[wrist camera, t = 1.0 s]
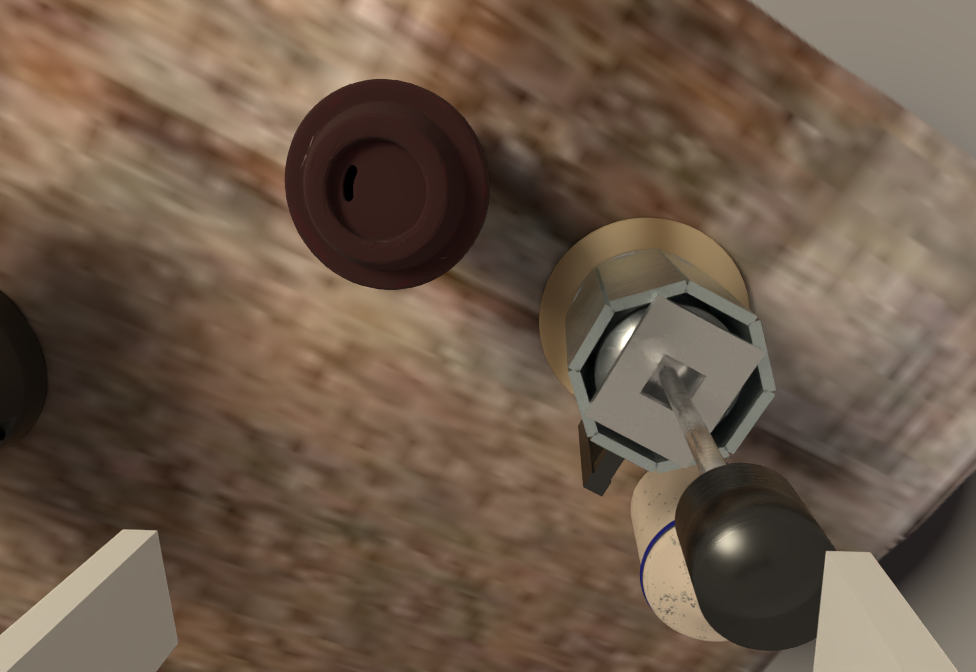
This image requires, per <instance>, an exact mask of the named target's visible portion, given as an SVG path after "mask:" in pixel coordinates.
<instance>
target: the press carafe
mask: <svg viewBox="0 0 976 672" xmlns="http://www.w3.org/2000/svg"><path fill="white" fill-rule="evenodd" d="M675 302H682V303H688V304H691V305H694V306H697V307H699V308H701V309H704V310H706V311H707V312H709V313H710V314H712V315H714V316H715V317H716V318H717V319H718V320H719V321H721V323H722V324H723V325H724V326H725V327H726V328H727V329H728V330H729V331H730V332H729V331H727V330H725V329H723V328H722V327H720V326H718V325H716V324H714V323H712V322H710V321H708V320H707V319H705V318H703V317H701V316H699V315H697V314H695V313H693V312H692V311H690V310H688V309H686V308H684V307H682V306H680V305H679V304H677V303H675ZM648 304H650V305H649V306H648V308H647V310H646V311H645V313H644V315H643V316H642V318H641V319H640V321H639V323H638V324H637V326H636V328H635V329H634V331H633V333H632V334H631V336H630V337H629V339H628V341H627V342H626V344H625V346H624V347H623V349H622V351H621V352H620V354H619V355H618V357H617V359H616V360H615V362H614V364H613V365H612V367H611V368H610V370H609V372H608V373H607V375H606V377H605V378H604V380H603V382H602V383H601V385H600V386H599V388H598V390H596V385H595V377H594V366H595V359H596V354H597V352H598V349H599V346H600V344H601V342H602V340H603V338H604V337H605V335H606V334H607V332H608V331H609V330H610V328H611V327H612V326H613V325H614V324H615V323H616V322H617V321H618V320H620V319H621V318H622V317H623V316H625V315H626V314H628V313H629V312H631V311H633V310H635V309H637V308H639V307H642V306H645V305H648ZM565 317H566V319H565V327H566V345H567V364H568V374H569V377H570V380H571V384H572V387H573V390H574V394H575V397H576V400H577V404H578V407H579V410H580V413H581V417H582V420H581V422H580V424H579V425H578V429H579V441H580V454H581V466H582V479H583V487H584V488H586V489H588V490H590V491H592V492H594V493H596V494H598V495H600V496H603V494H604V493H605V491H606V490H607V488H608V487H609V485H610V484H611V479H612V477H613V476H614V474H615V473H616V471H617V469H618V468H619V466H620V465H621V463H622V462H623V460H624V459H627V460H629V461H631V462H632V463H634V464H636V465H638V466H640V467H642V468H644V469H646V470H648V471H650V472H652V473H654V471H655V470H657V474H659V473H663V472H667V471H671V470H675V469H680V468H687V467H688V466H692V465H697V464H696V462H695V460H694V457H693V455H692V453H691V450H690V448H689V446H688V444H687V441H686V439H685V437H684V435H683V432H682V430H681V428H680V425H679V423H678V421H677V419H676V416H675V414H674V412H673V409H672V407H671V406H669V405H667V404H665V403H663V402H661V401H659V400H657V399H655V398H654V397H652V396H650V395H648V394H646V393H644V392H642V391H641V390H642V389H643V387H644V386H645V384H646V383H647V381H648V379H649V378H650V376H651V375H652V373H653V372H654V370H655V368H656V367H657V365H658V364H659V362H660V361H661V359H662V357H663V356H664V354H666V355H668V356H670V357H671V358H673V359H675V360H677V361H679V362H681V363H683V364H685V365H686V366H688V367H690V368H692V369H694V370H696V371H698V372H700V373H702V374H703V375H702V376H701V378H700V379H699V381H698V383H697V384H696V386H695V387H694V389H693V390H692V392H691V393H690V396H691V398H692V400H693V402H694V404H695V406H696V408H697V410H698V412H699V413H700V415H701V417H702V419H703V421H704V423H705V425H706V427H707V428H708V430H709V432H710V434H711V436H712V438H713V440H714V442H715V444H716V445H717V447H718V449H719V451H720V453H721V455H722V457H723V458H726V457H729V453H728V452H730V453H732V454H734V453H735V451H736V450H737V448H738V447H739V446H740V444H741V443H742V441H743V440H744V439H745V437H746V436H747V434H748V433H749V431H750V430H751V429H752V427H753V426H754V424H755V423H756V422H757V420H758V419H759V417H760V416H761V414H762V413H763V412H764V410H765V409H766V407H767V406H768V404H769V403H770V402H771V400H772V399H773V397H774V396H775V394H774V393H773V391H775V390H776V387H775V383H774V378H773V374H772V369H771V365H770V360H769V356H768V352H767V347H766V343H765V338H764V334H763V329H762V325H761V320H759V319H758V318H757V317H758V316H756V315H755V314H754V313H753V312H752V311H751V310H749V309H748V308H747V307H746V306H745V305H744V304H742V303H741V302H740V301H739V300H738V299H737V298H735V297H734V296H733V295H732V294H731V293H730V292H729V291H727V290H726V289H725V288H724V287H723V286H722V285H720V284H719V283H718V282H717V281H716V280H715V279H713V278H712V277H711V276H710V275H708V274H707V273H705V272H703V271H701V270H699V269H697V268H696V267H695V266H694V265H692V264H691V263H690V262H688V261H687V260H685V259H683V258H682V257H679V256H677V255H675V254H672V253H669V252H666V251H664V250H662V249H660V248H657V249H656V248H655V247H653V248H650V249H638V250H631V251H627V252H623V253H620V254H617V255H615V256H613V257H611V258H609V259H607V260H605V261H603V262H602V263H598V264H597V266H596V267H593V269H592V270H591V272H590V273H589V274H588V275H587V276H586V277H585V278H584V280H583V281H582V282H581V284H580V285H579V287H578V289H577V291H576V293H575V295H574V297H573V300H572V303H571V306H570V309H569V310H568V312H567V314H566V316H565ZM740 389H741V391H740ZM739 391H740V394H739V396H738V399H737V401H736V403H735V405H734V406H733V408H732V409H731V411H730V412H729V413H728V415H727V416H726V417H725V418H724V419H723V420H722V421H721V422H720V423H719V424H718V425H716V424H717V423H718V421H719V420H720V419H721V417H722V416H723V414H724V413H725V411H726V410H727V408H728V407H729V405H730V404H731V402H732V401H733V400H734V398H735V397H736V395H737V394H738V392H739Z"/></svg>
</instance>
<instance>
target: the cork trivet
mask: <svg viewBox="0 0 976 672" xmlns="http://www.w3.org/2000/svg"><path fill="white" fill-rule="evenodd" d="M653 247H655V248H656V249H657V248H660V249H662V250H664V251H666V252H669V253H672V254H675V255H677V256H679V257H682V258H683V259H685V260H687V261H688V262H690V263H691V264H692V265H694V266H695V267H696V268H697V269H699V270H701V271H703V272H705V273H707V274H708V275H710V276H711V277H712V278H713V279H715V280H716V281H717V282H718V283H719V284H720V285H722V286H723V287H724V288H725V289H726V290H727V291H729V292H730V293H731V294H732V295H733V296H734V297H735V298H737V299H738V300H739V301H740V302H741V303H742V304H744V305H745V306H746V307H747V308H748V309H749V310H750V307H749V300H748V294H747V291H746V287H745V284H744V281H743V279H742V277H741V274H740V272H739V270H738V268H737V267H736V265H735V264H734V262H733V260H732V259H731V258H730V257H729V255H728V254H727V253H726V252H725V251H724V250H723V248H721V247H720V246H719V245H718V244H717V243H716V242H715V241H714V240H712V239H711V238H709V237H708V236H706V235H705V234H703V233H702V232H700V231H699V230H696V229H694V228H692V227H690V226H688V225H686V224H683V223H680V222H677V221H673V220H668V219H662V218H650V217H642V218H631V219H626V220H621V221H617V222H614V223H611V224H608V225H605V226H603V227H601V228H599V229H597V230H595V231H593V232H591V233H590V234H588V235H587V236H585V237H584V238H582V239H581V240H579V241H578V242H577V243H576V244H575V245H574V246H572V247H571V248H570V249H569V250H568V251H567V252H566V254H565V255H564V256H563V257H562V258H561V259H560V261H559V262H558V264H557V265H556V267H555V268H554V270H553V271H552V273H551V275H550V277H549V279H548V281H547V283H546V286H545V289H544V292H543V295H542V300H541V305H540V314H539V330H540V338H541V343H542V348H543V351H544V353H545V356H546V359H547V361H548V363H549V365H550V367H551V369H552V371H553V372H554V374H555V375H556V377H557V378H558V379H559V381H560V382H561V383H562V384H563V385H564V386H565V387H566V389H567V390H568V391H569V392H571V393H572V394H573V395H574V396H575V394H574V390H573V387H572V384H571V380H570V377H569V374H568V364H567V345H566V327H565V319H566V317H565V316H566V314H567V312H568V310H569V309H570V306H571V303H572V300H573V297H574V295H575V293H576V291H577V289H578V287H579V285H580V284H581V282H582V281H583V280H584V278H585V277H586V276H587V275H588V274H589V273H590V272H591V270H592V269H593V267H596V266H597V264H598V263H602V262H603V261H605V260H607V259H609V258H611V257H613V256H615V255H617V254H620V253H623V252H627V251H631V250H638V249H650V248H653Z"/></svg>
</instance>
